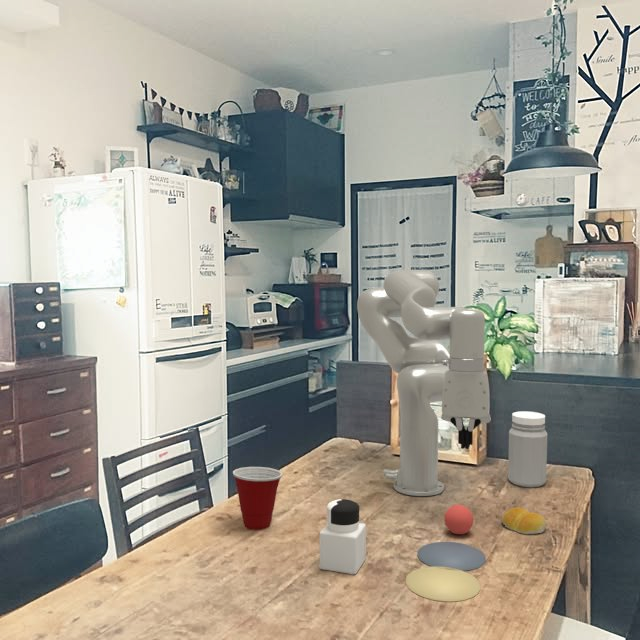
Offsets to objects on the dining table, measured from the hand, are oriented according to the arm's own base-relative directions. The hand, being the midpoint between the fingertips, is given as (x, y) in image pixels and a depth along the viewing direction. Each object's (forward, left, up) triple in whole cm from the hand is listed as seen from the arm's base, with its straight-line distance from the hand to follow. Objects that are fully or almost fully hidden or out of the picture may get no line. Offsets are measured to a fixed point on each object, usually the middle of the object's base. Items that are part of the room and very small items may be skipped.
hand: (465, 447), depth 150 cm
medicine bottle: (-19, -31, -16) cm, 40 cm away
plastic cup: (-42, -18, -16) cm, 49 cm away
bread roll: (+13, -1, -17) cm, 21 cm away
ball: (0, -9, -13) cm, 16 cm away
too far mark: (0, -33, -16) cm, 37 cm away
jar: (+13, +31, -16) cm, 37 cm away
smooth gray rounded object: (0, -21, -16) cm, 27 cm away
